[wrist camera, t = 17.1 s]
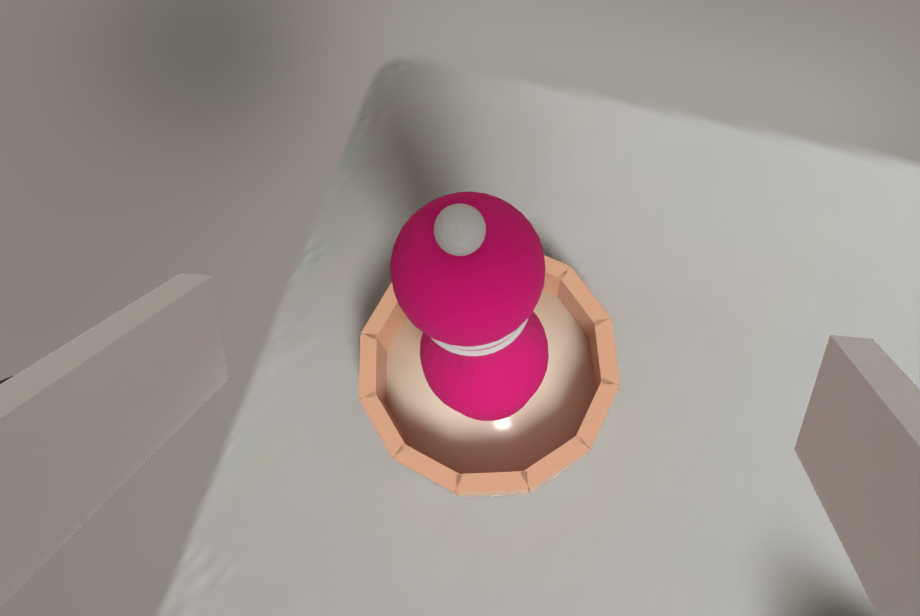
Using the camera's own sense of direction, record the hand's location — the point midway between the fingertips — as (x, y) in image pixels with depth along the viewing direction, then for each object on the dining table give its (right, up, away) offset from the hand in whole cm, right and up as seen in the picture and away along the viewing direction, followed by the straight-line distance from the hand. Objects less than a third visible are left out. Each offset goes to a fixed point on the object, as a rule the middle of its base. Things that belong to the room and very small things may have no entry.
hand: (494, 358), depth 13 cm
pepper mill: (+1, -3, +25) cm, 26 cm away
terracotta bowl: (+1, -3, +26) cm, 26 cm away
